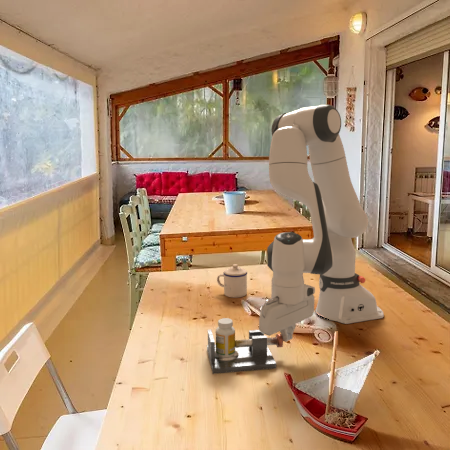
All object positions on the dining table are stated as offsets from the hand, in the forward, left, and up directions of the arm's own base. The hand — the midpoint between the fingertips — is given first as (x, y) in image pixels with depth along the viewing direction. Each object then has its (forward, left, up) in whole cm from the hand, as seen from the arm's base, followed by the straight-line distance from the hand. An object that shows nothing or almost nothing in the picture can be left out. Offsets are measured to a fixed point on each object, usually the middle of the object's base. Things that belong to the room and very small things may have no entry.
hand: (287, 339), depth 137 cm
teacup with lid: (+7, -53, -5) cm, 54 cm away
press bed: (+13, 0, -5) cm, 14 cm away
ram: (+8, 0, -2) cm, 8 cm away
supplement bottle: (+17, -1, -3) cm, 18 cm away
